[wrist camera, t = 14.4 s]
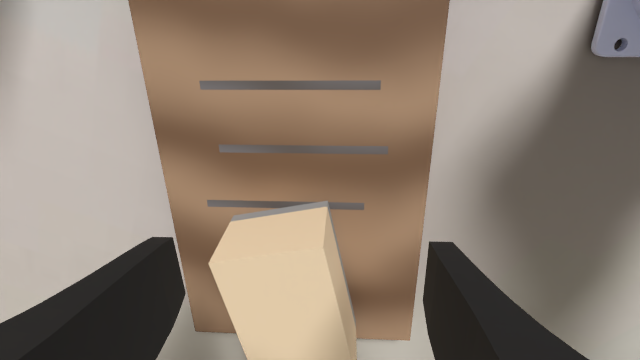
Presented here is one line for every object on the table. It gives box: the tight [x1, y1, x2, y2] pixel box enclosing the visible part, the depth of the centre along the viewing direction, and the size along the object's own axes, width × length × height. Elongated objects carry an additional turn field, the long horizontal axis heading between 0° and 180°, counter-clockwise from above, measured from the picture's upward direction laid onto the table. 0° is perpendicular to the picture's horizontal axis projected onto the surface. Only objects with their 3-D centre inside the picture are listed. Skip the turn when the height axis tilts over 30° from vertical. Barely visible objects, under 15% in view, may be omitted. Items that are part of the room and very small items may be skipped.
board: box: [128, 0, 450, 340], centre depth 19 cm, size 24×13×2 cm, turn 1°
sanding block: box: [208, 201, 357, 360], centre depth 20 cm, size 5×8×4 cm, turn 12°
